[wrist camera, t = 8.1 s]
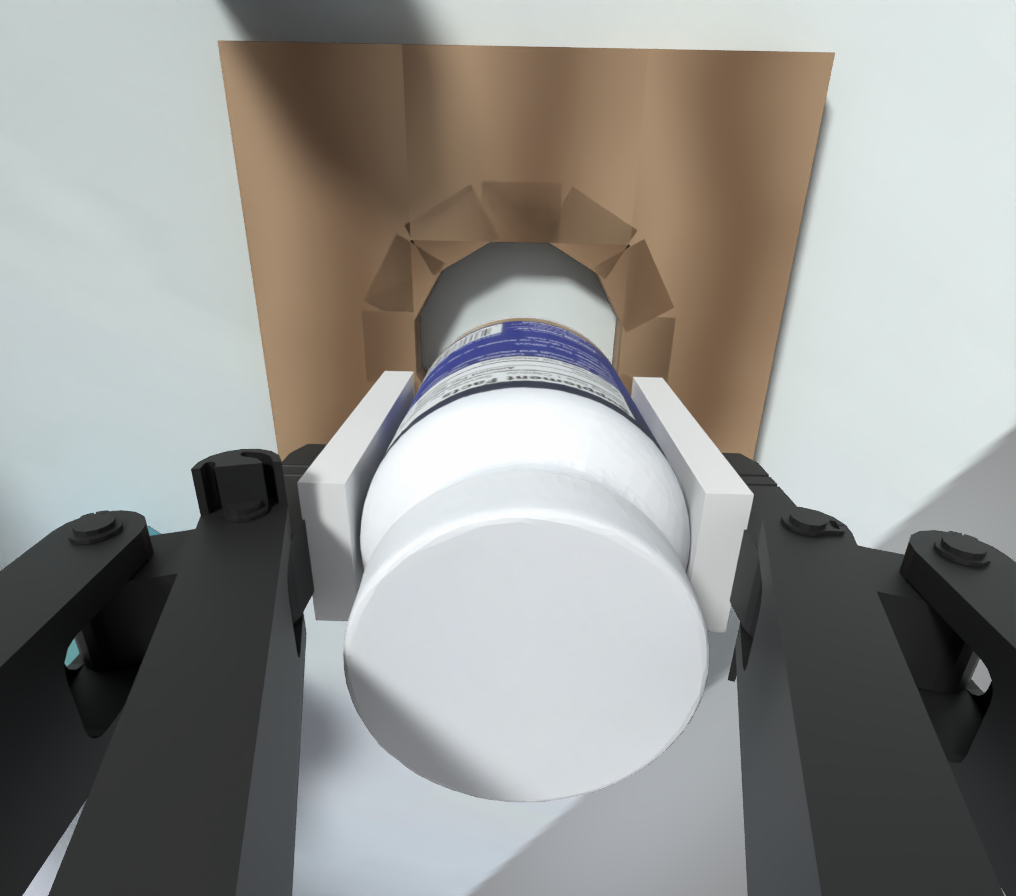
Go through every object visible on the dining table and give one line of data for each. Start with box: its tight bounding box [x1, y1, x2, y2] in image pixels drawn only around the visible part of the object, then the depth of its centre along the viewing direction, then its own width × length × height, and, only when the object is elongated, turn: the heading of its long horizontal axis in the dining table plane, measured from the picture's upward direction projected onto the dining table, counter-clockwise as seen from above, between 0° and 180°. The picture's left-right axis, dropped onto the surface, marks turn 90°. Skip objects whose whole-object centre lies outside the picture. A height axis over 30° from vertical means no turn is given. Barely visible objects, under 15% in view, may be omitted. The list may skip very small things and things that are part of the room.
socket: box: [218, 41, 835, 461], centre depth 24 cm, size 20×20×2 cm
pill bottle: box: [343, 317, 709, 802], centre depth 12 cm, size 6×6×10 cm
